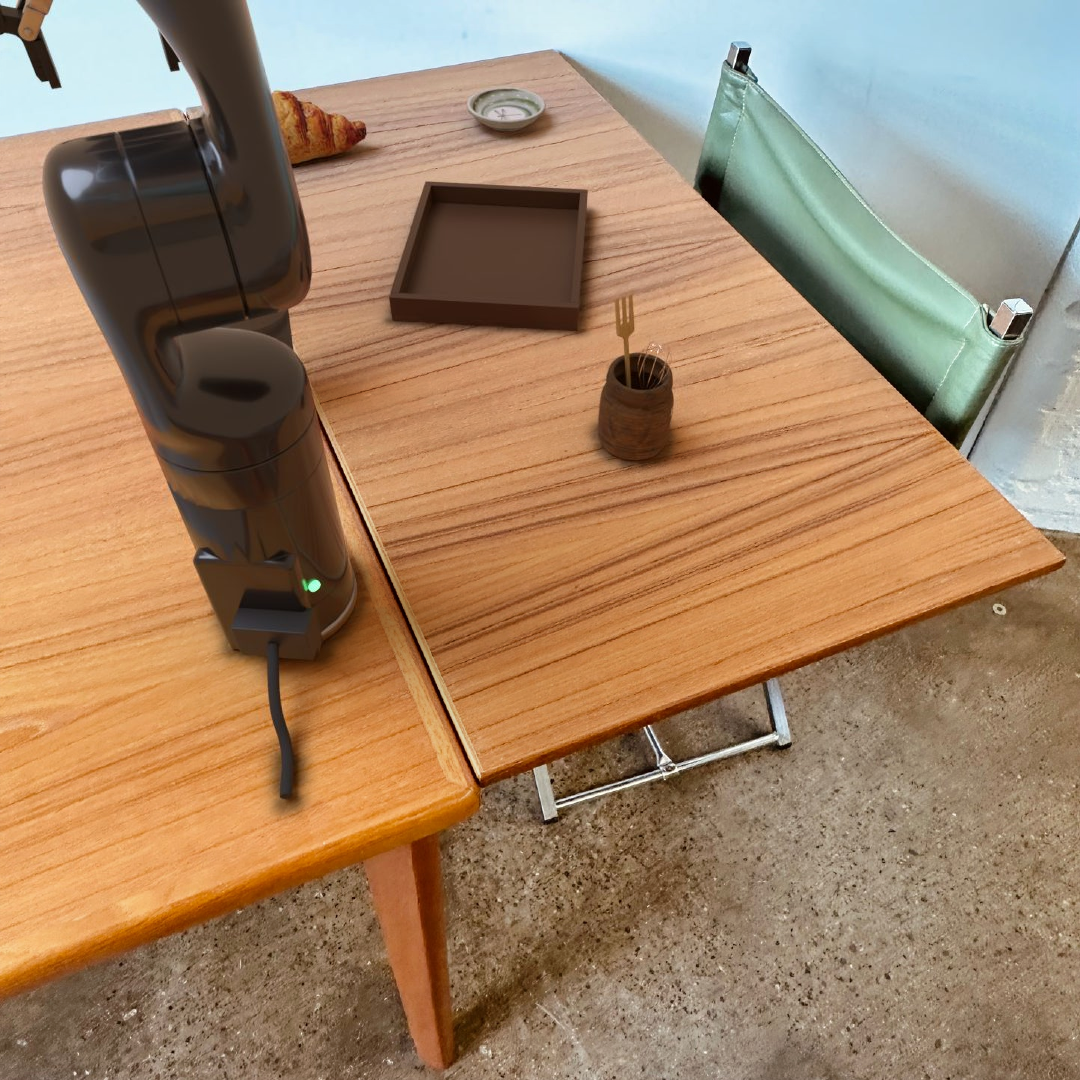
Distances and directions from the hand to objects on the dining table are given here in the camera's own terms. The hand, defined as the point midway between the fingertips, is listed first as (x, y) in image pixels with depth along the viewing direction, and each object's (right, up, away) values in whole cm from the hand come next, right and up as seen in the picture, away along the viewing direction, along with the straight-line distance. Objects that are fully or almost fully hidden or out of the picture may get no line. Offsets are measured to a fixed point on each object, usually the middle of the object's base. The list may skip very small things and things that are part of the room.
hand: (115, 74), depth 69 cm
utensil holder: (+40, -27, +7) cm, 49 cm away
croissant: (+1, +11, +39) cm, 40 cm away
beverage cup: (+9, -23, +10) cm, 27 cm away
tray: (+28, -7, +24) cm, 37 cm away
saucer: (+28, +17, +44) cm, 55 cm away
